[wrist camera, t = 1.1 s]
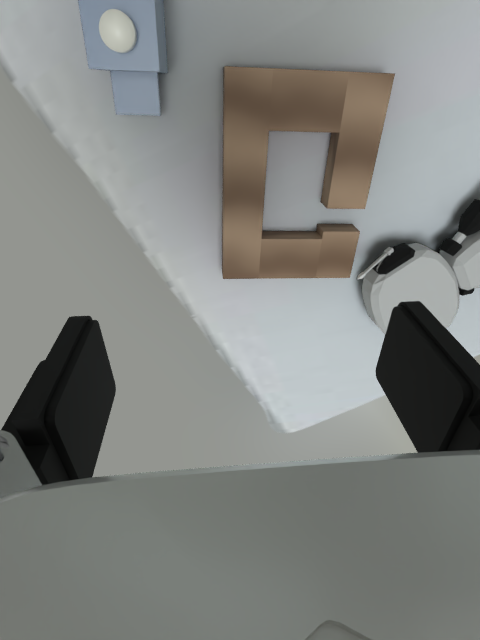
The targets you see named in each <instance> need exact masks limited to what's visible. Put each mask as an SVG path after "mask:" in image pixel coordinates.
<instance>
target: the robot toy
mask: <svg viewBox="0 0 480 640" xmlns="http://www.w3.org/2000/svg"><path fill="white" fill-rule="evenodd" d="M439 248H440V249H441V250H440V252H439V254H438V253H437V252H435V251H433V250H432V249H430V248H428V247H426V246H424V245H422V244H419V243H413V244H408V245H407V244H405V243H403V244H400V245H397V246H394V247H392V248H391V247H388V248H387V249H386V250H384V253H383V254H382V255H380V256H379V258H377V259H376V260H375V261H374V262H373V263H372V264H371V265H370V266H369V267H368V268H367V269H366V270H365V271H363V272H361V273H360V274H359V275H358V277H357V280H358V279H362V278H363V277H364V279H363V284H362V294H363V300H364V303H365V307H366V310H367V313H368V316H369V317H370V318H371V319H372V320H373V322H374V323H375V324H376V325H377V326H378V327H379V328H380V329H381V330H382V332H383V333H384V334H386V331H387V327H388V324H389V320H390V317H391V313H392V310H393V308H394V307H396V306H398V304H399V303H400V302H407V301H420V302H421V303H423V305H424V306H425V307H426V308H427V309H428V310H429V311H430V312H431V313H432V314H433V315H434V316H435V317H436V318H437V320H438V321H439V322H440V323H441V324H442V325H443V326H444V327H445V328H447V327H449V326H450V325H451V323H452V321H453V319H454V318H455V316H456V313H457V311H458V308H459V294H460V295H467V294H471V293H473V291H474V289H475V288H479V287H480V200H476V199H475V200H474V201H473V202H472V203H471V204H470V206H469V207H468V208H467V209H466V211H465V212H464V213H463V214H462V215H461V218H460V222H459V228H458V232H457V233H456V234H455V236H454V237H453V238H452V239H450V238H446V239H445V241H444V242H443V243H442V244H441V245H440V247H439Z"/></svg>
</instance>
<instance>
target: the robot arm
mask: <svg viewBox="0 0 480 640" xmlns="http://www.w3.org/2000/svg"><path fill="white" fill-rule="evenodd" d="M376 377H377V380H378V382H379V383H380V385H381V387H382V389H383V391H384V392H385V394H386V396H387V398H388V399H389V401H390V403H391V405H392V407H393V408H394V410H395V412H396V414H397V416H398V417H399V419H400V421H401V423H402V424H403V426H404V428H405V430H406V432H407V434H408V435H409V437H410V439H411V441H412V443H413V444H414V446H415V448H416V450H417V452H418V453H407V454H392V455H377V456H362V457H347V458H332V459H318V460H304V461H290V462H277V463H264V464H249V465H236V466H223V467H210V468H198V469H184V470H171V471H158V472H146V473H135V474H124V475H114V476H103V477H92V476H93V472H94V468H95V465H96V461H97V458H98V454H99V451H100V447H101V443H102V440H103V436H104V432H105V429H106V425H107V422H108V418H109V415H110V411H111V408H112V404H113V400H114V396H115V391H116V387H115V381H114V378H113V374H112V370H111V367H110V363H109V359H108V356H107V352H106V349H105V345H104V341H103V337H102V333H101V330H100V326H99V323H98V321H97V320H92V318H91V317H90V316H74V317H69V318H68V320H67V322H66V323H65V325H64V327H63V329H62V331H61V333H60V334H59V336H58V338H57V340H56V342H55V343H54V345H53V347H52V349H51V351H50V352H49V354H48V356H47V358H46V360H44V361H41V362H40V363H39V365H38V366H37V368H36V370H35V371H34V373H33V375H32V377H31V378H30V380H29V382H28V384H27V386H26V387H25V389H24V391H23V392H22V394H21V396H20V398H19V400H18V401H17V403H16V405H15V407H14V408H13V410H12V412H11V414H10V415H9V417H8V419H7V421H6V422H5V424H4V426H3V428H2V429H1V430H0V640H480V365H479V364H478V363H477V362H476V360H475V359H474V358H473V357H472V356H471V355H470V354H469V353H468V352H467V351H466V350H465V349H464V347H463V346H462V345H461V344H460V343H459V342H458V341H457V340H456V339H455V338H454V337H453V336H452V335H451V333H450V332H449V331H448V330H447V329H446V328H445V327H444V326H443V325H442V324H441V323H440V322H439V321H438V320H437V318H436V317H435V316H434V315H433V314H432V313H431V312H430V311H429V310H428V309H427V308H426V307H425V306H424V305H423V303H421V302H420V301H407V302H400V303H399V304H398V306H396V307H394V308H393V310H392V313H391V317H390V320H389V324H388V327H387V331H386V334H385V338H384V342H383V345H382V349H381V352H380V356H379V360H378V363H377V367H376Z"/></svg>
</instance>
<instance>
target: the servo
mask: <svg viewBox="0 0 480 640" xmlns="http://www.w3.org/2000/svg"><path fill="white" fill-rule="evenodd" d="M78 3H79V10H80V16H81V22H82V28H83V35H84V41H85V47H86V54H87V60H88V66H89V69H97V70H108V71H110V73H111V80H112V88H113V95H114V103H115V110H116V114H124V115H156V116H160V115H161V108H160V94H159V81H158V73H168V67H167V51H166V34H165V18H164V2H163V0H78Z"/></svg>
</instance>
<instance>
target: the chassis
mask: <svg viewBox="0 0 480 640" xmlns="http://www.w3.org/2000/svg"><path fill="white" fill-rule="evenodd" d="M394 76H395V74H390V73H367V72H344V71H321V70H298V69H276V68H253V67H230V66H225V67H224V68H223V206H222V274H223V279H251V278H350V274H351V270H352V265H353V261H354V256H355V252H356V247H357V243H358V238H359V234H360V231H359V230H358V229H357V228H356V227H355V226H354V225H353V224H317V229H316V231H262V223H263V208H264V194H265V179H266V165H267V150H268V136H269V131H299V132H331V138H330V144H329V151H328V157H327V164H326V170H325V177H324V184H323V190H322V197H321V203H322V204H323V205H324V206H325V207H326V208H332V209H365V206H366V202H367V197H368V193H369V188H370V184H371V179H372V175H373V170H374V166H375V161H376V157H377V152H378V148H379V143H380V139H381V134H382V130H383V125H384V121H385V116H386V112H387V107H388V103H389V98H390V94H391V89H392V85H393V80H394Z"/></svg>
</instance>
